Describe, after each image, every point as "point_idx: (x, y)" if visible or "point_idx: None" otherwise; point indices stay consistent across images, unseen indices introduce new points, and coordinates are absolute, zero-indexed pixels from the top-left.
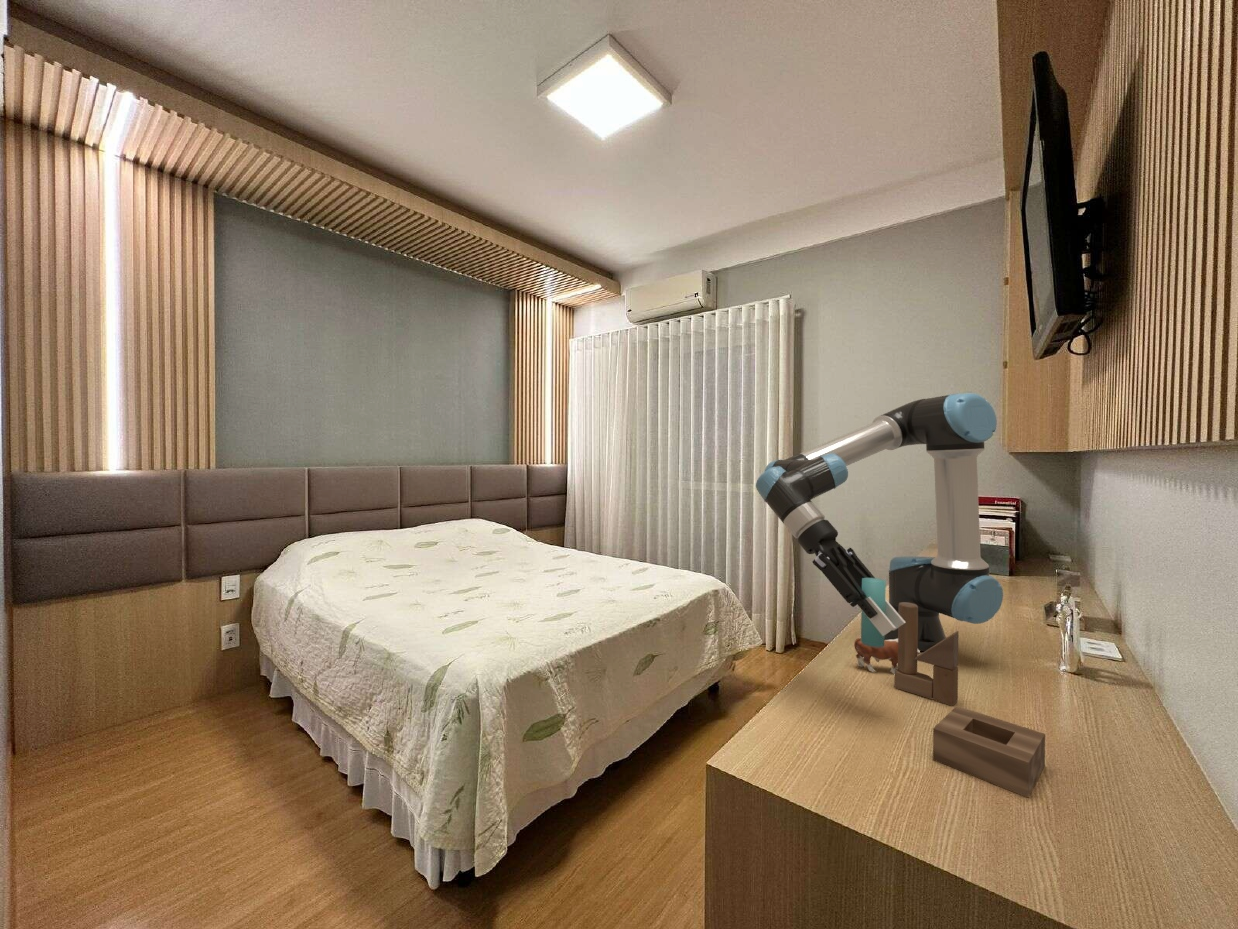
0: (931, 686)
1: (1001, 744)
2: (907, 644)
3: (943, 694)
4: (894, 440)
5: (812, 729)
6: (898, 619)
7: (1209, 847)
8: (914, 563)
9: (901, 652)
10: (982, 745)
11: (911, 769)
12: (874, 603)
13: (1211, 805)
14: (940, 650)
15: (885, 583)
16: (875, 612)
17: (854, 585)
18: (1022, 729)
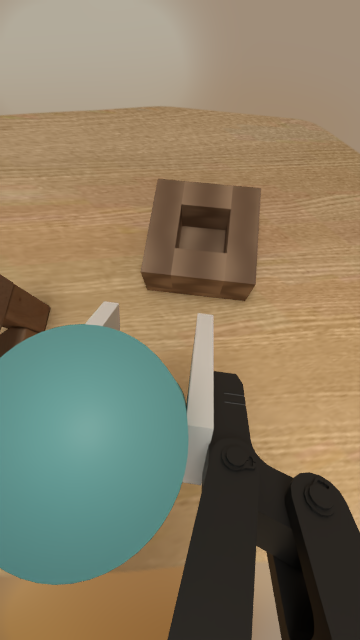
0: (30, 331)
1: (234, 213)
2: None
3: (39, 314)
4: None
5: (295, 463)
6: (112, 320)
7: (218, 118)
8: None
9: None
10: (256, 229)
11: (290, 316)
12: (202, 389)
13: (137, 110)
14: None
15: (75, 329)
16: (222, 378)
17: (250, 586)
18: (164, 198)
